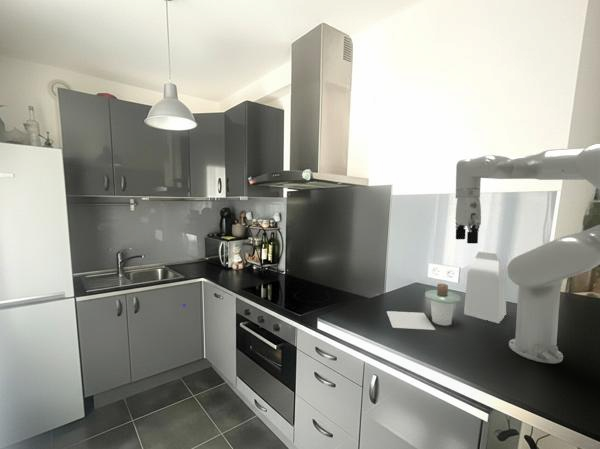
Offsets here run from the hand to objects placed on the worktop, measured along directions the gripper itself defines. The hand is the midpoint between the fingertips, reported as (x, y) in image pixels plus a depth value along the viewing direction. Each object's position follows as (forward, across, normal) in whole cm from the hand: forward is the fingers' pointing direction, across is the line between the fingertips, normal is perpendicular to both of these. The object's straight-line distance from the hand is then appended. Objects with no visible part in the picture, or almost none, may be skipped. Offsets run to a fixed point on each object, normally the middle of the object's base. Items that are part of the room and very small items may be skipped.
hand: (466, 241), depth 99 cm
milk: (+32, +12, -13) cm, 37 cm away
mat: (+32, +2, +19) cm, 38 cm away
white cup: (+32, +2, +7) cm, 33 cm away
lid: (+22, +2, +7) cm, 23 cm away
